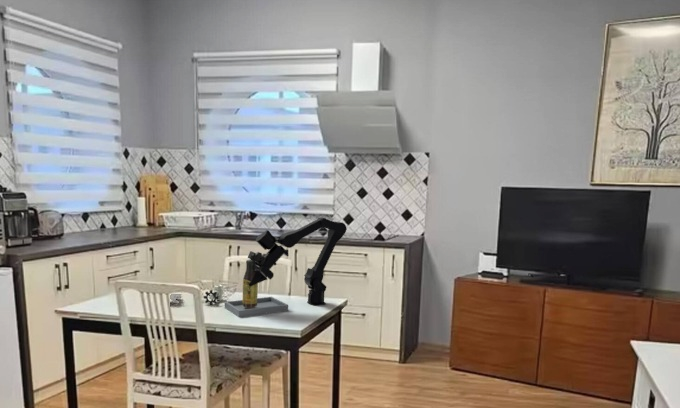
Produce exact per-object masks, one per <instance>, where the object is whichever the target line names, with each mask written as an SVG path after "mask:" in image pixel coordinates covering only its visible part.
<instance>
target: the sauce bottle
mask: <svg viewBox="0 0 680 408" xmlns="http://www.w3.org/2000/svg"><path fill="white" fill-rule="evenodd" d="M245 264H246V267H245V268H246V269H245V273H244V275H243V278H242V299H241V300H242V302H243V306H244V307H247V308H251V307H256V306H257V298H258V288H259V287H258V285H259V283H257V284H255V285H253V286H251V287H250V286H249V283H250V282H251V280H252V279H253V277H254V276H255V275H256V271H255V264H256V261H255V260H251V259H246V260H245Z"/></svg>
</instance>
